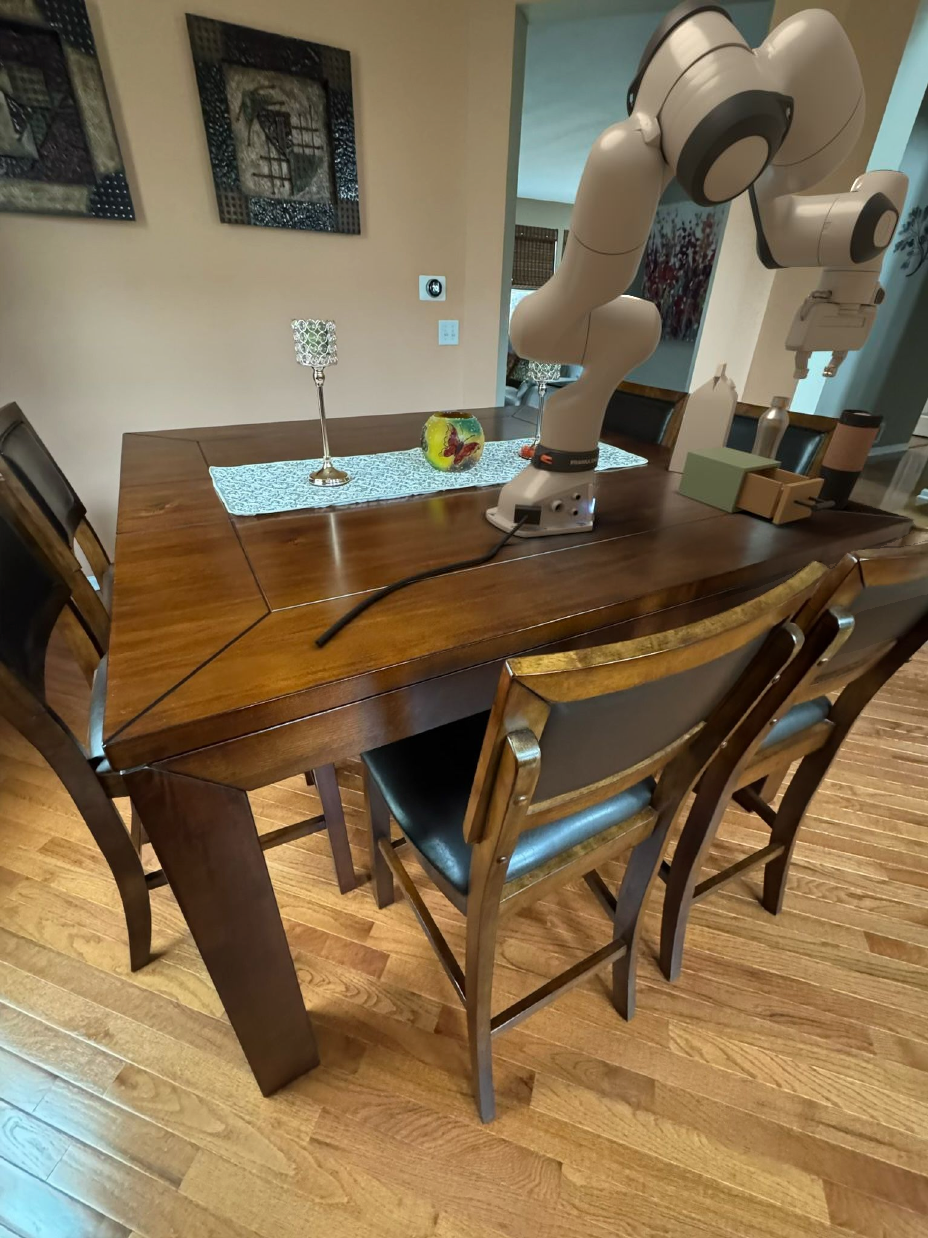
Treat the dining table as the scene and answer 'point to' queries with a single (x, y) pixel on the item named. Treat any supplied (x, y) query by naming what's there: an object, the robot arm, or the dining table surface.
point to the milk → (706, 418)
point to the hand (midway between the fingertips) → (813, 377)
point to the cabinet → (719, 475)
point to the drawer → (795, 500)
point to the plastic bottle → (771, 428)
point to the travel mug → (847, 455)
